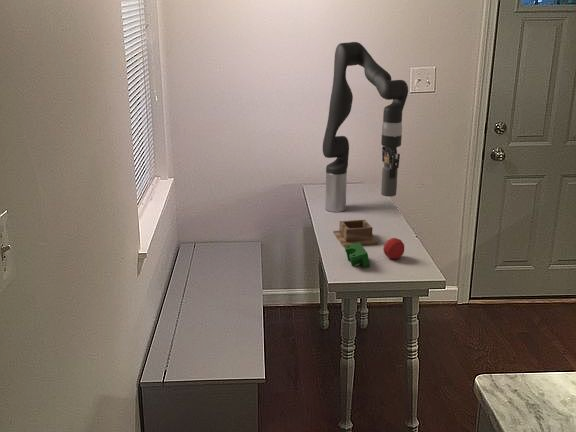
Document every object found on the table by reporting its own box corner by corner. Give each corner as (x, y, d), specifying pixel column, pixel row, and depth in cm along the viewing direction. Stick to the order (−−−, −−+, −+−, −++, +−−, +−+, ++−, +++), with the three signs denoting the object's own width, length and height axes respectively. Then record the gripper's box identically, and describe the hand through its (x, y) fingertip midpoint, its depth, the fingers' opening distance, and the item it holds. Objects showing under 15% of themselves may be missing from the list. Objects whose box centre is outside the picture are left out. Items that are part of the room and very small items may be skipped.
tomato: (403, 239, 239) (390, 229, 245) (387, 254, 239) (375, 243, 244) (411, 252, 244) (398, 242, 250) (395, 266, 244) (383, 256, 250)
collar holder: (333, 233, 271) (333, 219, 269) (366, 231, 273) (366, 217, 271) (343, 247, 256) (344, 232, 254) (378, 244, 258) (379, 230, 256)
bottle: (397, 193, 263) (399, 156, 258) (394, 197, 258) (396, 159, 253) (382, 191, 265) (384, 154, 260) (379, 195, 260) (381, 158, 255)
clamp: (350, 270, 246) (343, 246, 246) (365, 265, 246) (358, 242, 247) (355, 270, 234) (347, 245, 234) (371, 265, 234) (363, 241, 235)
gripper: (376, 130, 260) (374, 171, 265) (388, 137, 246) (386, 181, 252) (394, 129, 261) (392, 171, 266) (407, 136, 248) (405, 180, 253)
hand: (389, 175), depth 259 cm, fingers closed on bottle, 6 cm apart
